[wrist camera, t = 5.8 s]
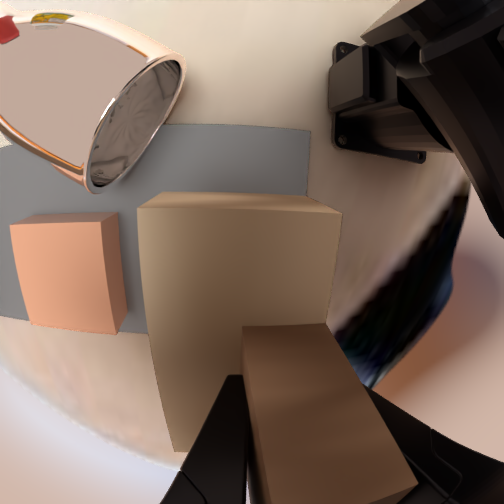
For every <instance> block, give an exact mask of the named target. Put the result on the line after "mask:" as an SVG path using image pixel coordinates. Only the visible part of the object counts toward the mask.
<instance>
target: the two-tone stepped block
mask: <svg viewBox="0 0 504 504" xmlns="http://www.w3.org/2000/svg"><path fill="white" fill-rule="evenodd" d="M342 215H343V214H342V213H340V212H338V211H336V210H334V209H332V208H330V207H328V206H326V205H324V204H322V203H319V202H317V201H315V200H313V199H311V198H309V197H307V196H297V195H280V194H259V193H230V192H162V193H160V194H158V195H157V196H155V197H154V198H152V199H150V200H149V201H147V202H146V203H144V204H143V205H141V206H139V207H138V208H137V223H138V242H139V257H140V269H141V279H142V289H143V298H144V306H145V314H146V321H147V328H148V334H149V341H150V347H151V353H152V358H153V364H154V369H155V374H156V379H157V384H158V389H159V393H160V398H161V402H162V406H163V411H164V415H165V419H166V423H167V427H168V430H169V434H170V438H171V441H172V445H173V448H174V452H189V451H190V449H191V447H192V445H193V443H194V441H195V439H196V437H197V435H198V433H199V431H200V429H201V427H202V425H203V423H204V421H205V419H206V417H207V415H208V413H209V411H210V409H211V407H212V405H213V403H214V401H215V399H216V397H217V395H218V393H219V391H220V389H221V387H222V385H223V383H224V381H225V379H226V377H227V375H229V374H242V375H243V379H244V385H245V391H246V396H247V402H248V407H249V438H248V463H247V482H248V489H249V497H250V503H251V504H396V503H397V502H399V501H400V500H401V499H402V498H403V497H404V496H405V495H407V494H408V493H409V492H410V491H411V490H412V489H413V488H414V487H415V486H416V485H417V484H418V482H417V480H416V478H415V476H414V474H413V472H412V471H411V469H410V467H409V465H408V463H407V461H406V460H405V458H404V456H403V454H402V452H401V451H400V449H399V447H398V445H397V444H396V442H395V440H394V438H393V436H392V435H391V433H390V431H389V429H388V428H387V426H386V424H385V422H384V421H383V419H382V417H381V415H380V414H379V412H378V410H377V409H376V407H375V405H374V403H373V402H372V400H371V398H370V397H369V395H368V393H367V391H366V390H365V388H364V386H363V385H362V383H361V381H360V380H359V378H358V376H357V374H356V373H355V371H354V369H353V368H352V366H351V364H350V363H349V361H348V359H347V358H346V356H345V354H344V353H343V351H342V349H341V348H340V346H339V345H338V343H337V341H336V340H335V338H334V336H333V335H332V333H331V331H330V330H329V328H328V326H327V325H326V318H327V312H328V307H329V302H330V296H331V291H332V285H333V279H334V273H335V267H336V260H337V253H338V246H339V239H340V232H341V224H342Z"/></svg>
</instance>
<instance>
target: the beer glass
mask: <svg viewBox="0 0 504 504" xmlns="http://www.w3.org/2000/svg"><path fill="white" fill-rule="evenodd" d="M185 74H186V61H185V58H184V57H183V56H182V55H181V54H180V53H177V52H175V51H173V50H171V49H169V48H167V47H166V46H164V45H162V44H160V43H159V42H157V41H155V40H154V39H152V38H150V37H148V36H147V35H145V34H143V33H141V32H139V31H137V30H135V29H133V28H131V27H129V26H127V25H124V24H122V23H119V22H117V21H114V20H112V19H109V18H107V17H103V16H99V15H96V14H92V13H88V12H83V11H74V10H62V9H54V10H33V11H18V10H16V9H14V8H13V7H12V6H10V5H9V4H7V3H6V2H3V1H0V133H1V134H2V135H3V136H4V137H5V138H6V139H7V140H8V141H9V142H11V143H12V144H13V145H14V146H15V147H17V148H18V149H19V150H20V151H22V152H23V153H24V154H26V155H27V156H29V157H30V158H32V159H33V160H35V161H36V162H38V163H39V164H41V165H43V166H44V167H46V168H48V169H50V170H51V171H53V172H55V173H57V174H58V175H60V176H62V177H64V178H66V179H68V180H70V181H72V182H74V183H75V184H77V185H79V186H81V187H83V188H84V189H86V190H87V191H88V192H90V193H91V194H101V193H104V192H106V191H108V190H109V189H111V188H112V187H113V186H115V185H116V184H117V183H118V182H119V181H120V180H121V179H122V178H123V177H124V176H125V175H126V174H127V173H128V172H129V171H130V170H131V169H132V167H133V166H134V165H135V164H136V163H137V161H138V160H139V159H140V157H141V156H142V155H143V154H144V152H145V151H146V149H147V148H148V147H149V145H150V144H151V142H152V141H153V139H154V138H155V136H156V135H157V133H158V132H159V130H160V129H161V127H162V125H163V124H164V122H165V120H166V119H167V117H168V115H169V113H170V111H171V110H172V108H173V106H174V104H175V102H176V100H177V97H178V95H179V93H180V90H181V88H182V85H183V82H184V78H185Z"/></svg>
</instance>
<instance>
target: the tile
mask: <svg viewBox="0 0 504 504" xmlns="http://www.w3.org/2000/svg"><path fill="white" fill-rule="evenodd" d="M10 233H11V240H12V247H13V253H14V258H15V264H16V269H17V273H18V278H19V282H20V287H21V291H22V295H23V298H24V302H25V306H26V309H27V313H28V316H29V319H30V323H31V324H32V325H38V326H45V327H51V328H59V329H66V330H74V331H82V332H91V333H101V334H112V335H117V333H118V331H119V329H120V327H121V325H122V323H123V321H124V319H125V317H126V315H127V313H128V309H127V303H126V296H125V288H124V280H123V272H122V262H121V252H120V240H119V225H118V212H92V213H64V214H44V215H32V216H30V217H27V218H25V219H22V220H20V221H17V222H15V223H13V224H10Z"/></svg>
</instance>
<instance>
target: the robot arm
mask: <svg viewBox="0 0 504 504" xmlns="http://www.w3.org/2000/svg"><path fill="white" fill-rule="evenodd" d="M360 37H361V38H362V39H363V40H364V41H365V42H366V43H365V44H363V45H362V46H356V45H353V44H349V43H345V42H339V43H337V44H336V45H335V46H334V49H333V66H332V67H330V69H329V109H330V111H331V112H332V113H333V116H332V138H331V139H332V144H333V145H334V146H335V147H336V148H338V149H343V150H349V151H356V152H362V153H368V154H373V155H379V156H384V157H389V158H394V159H399V160H404V161H408V162H413V163H418V164H422V163H424V161H425V159H426V151H433V152H449V153H455V155H456V156H457V158H458V160H459V161H460V163H461V165H462V167H463V168H464V170H465V172H466V174H467V175H468V177H469V179H470V181H471V183H472V185H473V187H474V189H475V191H476V192H477V194H478V196H479V198H480V201H481V203H482V205H483V207H484V209H485V211H486V213H487V215H488V218H489V220H490V222H491V223H492V224H493V226H494V228H495V229H496V231H497V232H498V234H499V236H501V237H502V238H503V239H504V0H400V1H399V2H398V3H397V4H396V5H394V6H393V7H392V8H391V9H390V10H389V11H387V12H386V13H385V14H384V15H383V16H382V17H381V18H380V19H378V20H377V21H376V22H375V23H374V24H373V25H372V26H371V27H370V28H368V29H367V30H366V31H365V32H364V33H363V34H362V35H361V36H360ZM340 48H343V49H344V50H345V52H346V53H343V52H342V51H341V50H340ZM340 136H342V137H343V138H344V143H343V144H340V142H339V140H338V139H339V137H340ZM418 153H419V159H418V157H417V154H418ZM362 385H363V386H364V388H365V390H366V391H367V393H368V395H369V397H370V398H371V400H372V402H373V403H374V405H375V407H376V409H377V410H378V412H379V414H380V415H381V417H382V419H383V421H384V422H385V424H386V426H387V428H388V429H389V431H390V433H391V435H392V436H393V438H394V440H395V442H396V444H397V445H398V447H399V449H400V451H401V452H402V454H403V456H404V458H405V460H406V461H407V463H408V465H409V467H410V469H411V471H412V472H413V474H414V476H415V478H416V480H417V482H418V484H417V485H416V486H415V487H414V488H413V489H412V490H411V491H410V492H409V493H408V494H407V495H405V496H404V497H403V498H402V499H401V500H400V501H399V502H397V503H396V504H504V462H500V461H498V460H496V459H493V458H490V457H488V456H486V455H483V454H481V453H479V452H476V451H474V450H472V449H469V448H467V447H465V446H463V445H461V444H459V443H457V442H455V441H453V440H451V439H449V438H448V437H446V436H444V435H442V434H441V433H439V432H437V431H436V430H434V429H431V428H430V427H429V426H427V425H426V424H424V423H423V422H421V421H419V420H418V419H416V418H415V417H413V416H411V415H409V414H408V413H407V412H405V411H403V410H402V409H400V408H399V407H397V406H396V405H394V404H393V403H391V402H389V401H388V400H386V399H385V398H383V397H382V396H380V395H379V394H377V393H376V392H374V391H373V390H371V389H370V388H368V387H367V386H365V385H364V384H362ZM248 438H249V407H248V402H247V396H246V391H245V385H244V379H243V375H242V374H229V375H227V377H226V379H225V381H224V383H223V385H222V387H221V389H220V391H219V393H218V395H217V397H216V399H215V401H214V403H213V405H212V407H211V409H210V411H209V413H208V415H207V417H206V419H205V421H204V423H203V425H202V427H201V429H200V431H199V433H198V435H197V437H196V439H195V441H194V443H193V445H192V447H191V449H190V451H189V453H188V455H187V456H186V458H185V460H184V462H183V464H182V466H181V468H180V470H181V471H178V473H177V475H176V477H175V479H174V481H173V483H172V484H171V486H170V488H169V489H168V491H167V493H166V494H165V496H164V498H163V499H162V501H161V502H160V504H246V487H247V486H246V485H247V463H248Z"/></svg>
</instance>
